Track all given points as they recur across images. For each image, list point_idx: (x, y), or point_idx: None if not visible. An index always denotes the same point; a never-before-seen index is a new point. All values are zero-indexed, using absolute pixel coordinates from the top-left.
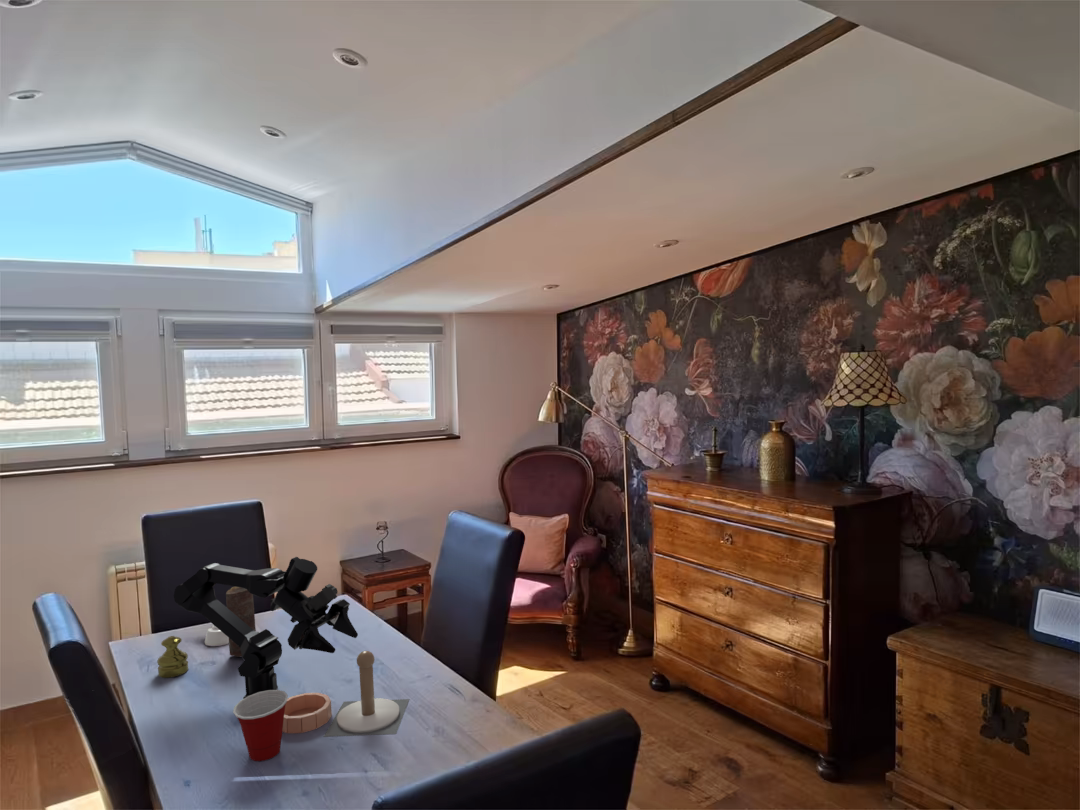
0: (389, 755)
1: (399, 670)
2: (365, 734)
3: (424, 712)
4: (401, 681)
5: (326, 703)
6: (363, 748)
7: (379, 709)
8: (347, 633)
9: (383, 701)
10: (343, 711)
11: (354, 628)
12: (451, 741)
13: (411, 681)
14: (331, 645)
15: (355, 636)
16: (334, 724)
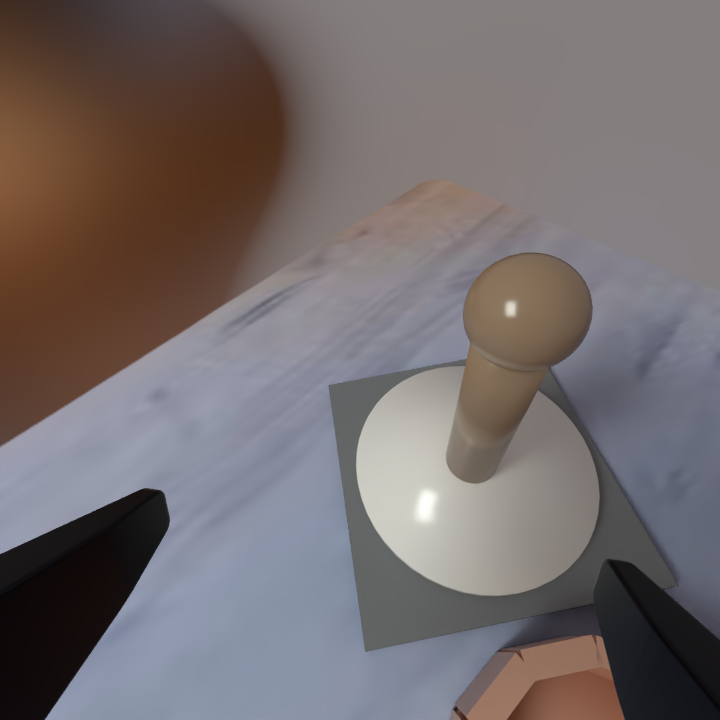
0: (623, 333)
1: (71, 516)
2: (579, 424)
3: (389, 333)
4: (177, 470)
5: (555, 666)
6: (633, 408)
7: (438, 430)
8: (72, 653)
9: (378, 440)
10: (492, 575)
11: (49, 532)
12: (503, 250)
13: (185, 435)
14: (666, 618)
15: (161, 518)
16: (571, 584)
